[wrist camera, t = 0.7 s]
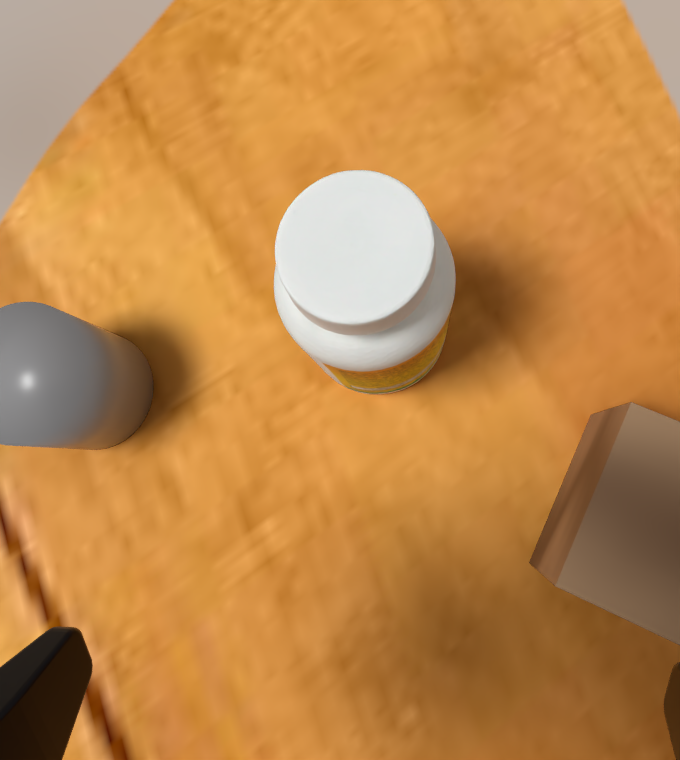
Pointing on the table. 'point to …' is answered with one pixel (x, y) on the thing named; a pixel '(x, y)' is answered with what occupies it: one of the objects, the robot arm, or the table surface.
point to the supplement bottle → (364, 280)
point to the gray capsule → (68, 381)
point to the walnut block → (620, 520)
